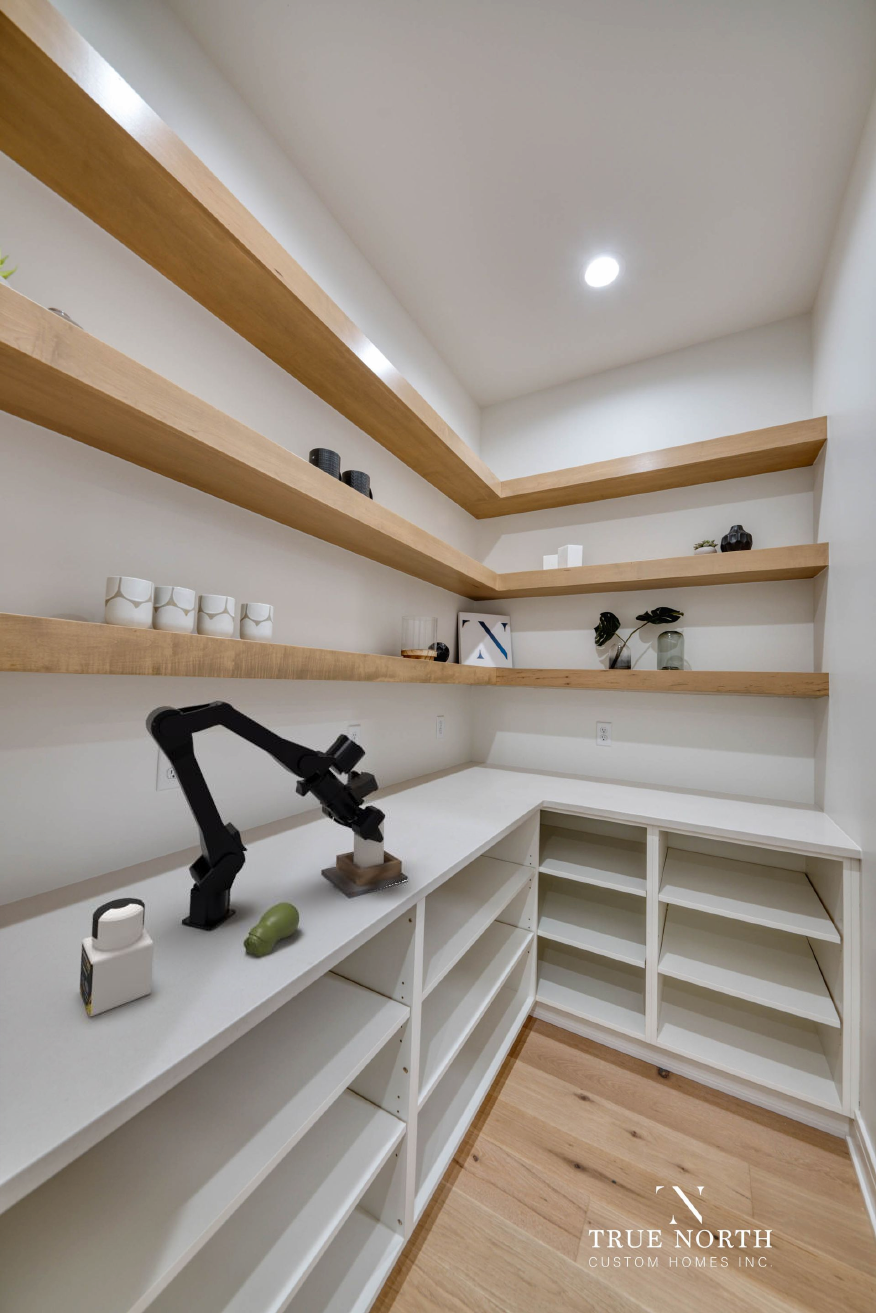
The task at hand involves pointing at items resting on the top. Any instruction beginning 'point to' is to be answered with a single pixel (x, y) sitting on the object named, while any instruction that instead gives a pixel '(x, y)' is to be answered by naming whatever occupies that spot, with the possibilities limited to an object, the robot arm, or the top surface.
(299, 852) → the top surface
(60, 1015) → the top surface
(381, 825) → the can
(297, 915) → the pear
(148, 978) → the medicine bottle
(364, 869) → the socket holder
